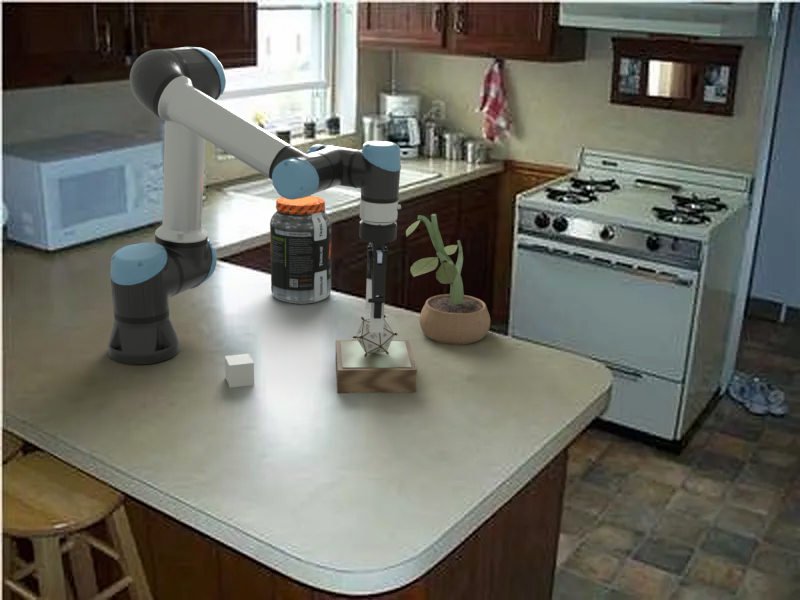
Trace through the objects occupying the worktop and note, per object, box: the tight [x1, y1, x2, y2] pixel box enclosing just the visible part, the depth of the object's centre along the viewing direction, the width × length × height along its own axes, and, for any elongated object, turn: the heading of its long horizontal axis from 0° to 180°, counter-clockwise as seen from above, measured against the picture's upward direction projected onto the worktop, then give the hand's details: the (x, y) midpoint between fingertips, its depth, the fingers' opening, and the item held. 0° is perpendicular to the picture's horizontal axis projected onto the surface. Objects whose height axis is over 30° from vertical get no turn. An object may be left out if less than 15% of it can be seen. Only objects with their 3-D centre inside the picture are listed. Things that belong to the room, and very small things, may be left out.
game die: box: [351, 314, 399, 357], centre depth 188 cm, size 9×8×10 cm
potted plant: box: [405, 213, 491, 345], centre depth 211 cm, size 22×18×30 cm
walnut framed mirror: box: [335, 339, 418, 394], centre depth 190 cm, size 16×16×5 cm
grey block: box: [224, 353, 255, 389], centre depth 186 cm, size 5×5×5 cm
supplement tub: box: [269, 195, 332, 305], centre depth 234 cm, size 16×16×26 cm
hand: (374, 319), depth 187 cm, fingers open, 13 cm apart
